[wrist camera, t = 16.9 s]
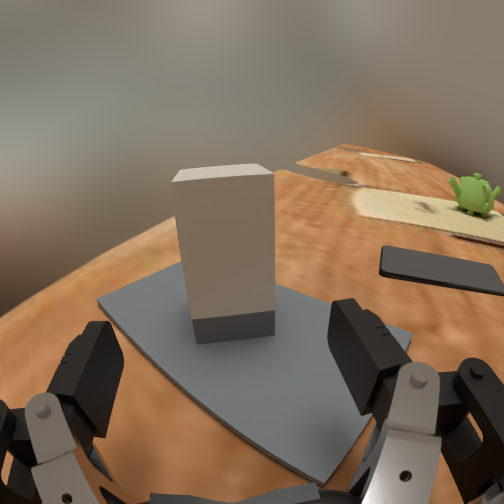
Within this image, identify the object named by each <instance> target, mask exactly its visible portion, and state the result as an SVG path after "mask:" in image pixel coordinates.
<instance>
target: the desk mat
mask: <svg viewBox="0 0 504 504" xmlns="http://www.w3.org/2000/svg"><path fill="white" fill-rule="evenodd" d="M97 302H98V305H99V306H100V307H101V308H102V310H103V311H104V312H105V313H106V314H107V316H108V317H109V318H110V319H111V320H112V321H113V322H114V324H115V325H116V326H117V327H118V328H119V329H120V330H121V331H122V332H123V333H124V335H125V336H126V337H127V338H128V339H129V340H130V341H131V342H132V343H133V344H134V345H135V346H136V347H137V348H138V349H139V350H140V351H141V352H142V353H143V354H144V355H145V356H146V357H147V358H148V359H149V360H150V361H151V362H152V363H153V364H154V365H155V366H156V367H157V368H158V369H159V370H160V371H161V372H162V373H163V374H164V375H165V376H166V377H167V378H168V379H170V380H171V381H172V382H173V383H174V384H175V385H176V386H177V387H178V388H180V389H181V390H182V391H183V392H184V393H185V394H186V395H188V396H189V397H190V398H191V399H192V400H193V401H195V402H196V403H197V404H198V405H199V406H201V407H202V408H203V409H204V410H205V411H207V412H208V413H209V414H210V415H212V416H213V417H214V418H216V419H217V420H218V421H219V422H221V423H222V424H223V425H225V426H226V427H227V428H229V429H230V430H231V431H233V432H234V433H235V434H237V435H238V436H240V437H241V438H242V439H244V440H245V441H247V442H248V443H250V444H251V445H252V446H254V447H255V448H257V449H258V450H260V451H261V452H263V453H264V454H266V455H267V456H269V457H271V458H272V459H274V460H275V461H277V462H279V463H280V464H282V465H283V466H285V467H287V468H288V469H290V470H292V471H294V472H295V473H297V474H299V475H301V476H302V477H304V478H306V479H308V480H310V481H311V482H316V484H317V485H319V486H321V487H322V486H323V485H324V484H325V483H326V481H327V480H328V479H329V478H330V476H331V475H332V474H333V472H334V471H335V470H336V469H337V467H338V466H339V465H340V463H341V462H342V460H343V459H344V458H345V456H346V455H347V453H348V452H349V451H350V449H351V448H352V446H353V445H354V443H355V442H356V440H357V439H358V437H359V436H360V434H361V433H362V431H363V430H364V428H365V426H366V425H367V423H368V422H369V420H370V418H371V417H372V415H373V414H372V413H371V414H367V415H364V416H361V415H360V413H359V411H358V408H357V406H356V404H355V402H354V400H353V398H352V396H351V393H350V391H349V389H348V387H347V385H346V383H345V381H344V379H343V377H342V374H341V372H340V370H339V368H338V366H337V364H336V362H335V360H334V358H333V356H332V354H331V352H330V349H329V346H328V341H327V332H328V325H329V318H330V310H331V304H330V303H327V302H324V301H322V300H319V299H316V298H313V297H311V296H308V295H305V294H303V293H300V292H297V291H295V290H292V289H289V288H287V287H284V286H281V285H279V284H276V283H275V335H273V336H266V337H259V338H251V339H243V340H234V341H225V342H216V343H205V344H196V339H195V334H194V329H193V324H192V319H191V314H190V308H189V303H188V297H187V292H186V286H185V280H184V274H183V268H182V261H181V262H179V263H176V264H174V265H172V266H169V267H167V268H165V269H163V270H160V271H158V272H156V273H153V274H151V275H149V276H147V277H144V278H142V279H140V280H138V281H135V282H133V283H131V284H129V285H126V286H124V287H122V288H120V289H117V290H115V291H113V292H111V293H109V294H106V295H104V296H102V297H100V298H98V299H97ZM384 324H385V323H384ZM385 327H387V328H388V329H389V331H390V332H391V335H393V336H394V337H395V339H396V340H397V341H398V343H399V344H400V345H401V347H402V348H403V349H404V351H405V352H406V349H407V347H408V345H409V343H410V340H411V338H412V335H413V333H411V332H408V331H405V330H403V329H400V328H397V327H394V326H391V325H388V324H385Z"/></svg>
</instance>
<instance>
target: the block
mask: <svg viewBox="0 0 504 504" xmlns="http://www.w3.org/2000/svg"><path fill="white" fill-rule="evenodd" d="M171 184H172V193H173V202H174V210H175V219H176V226H177V234H178V241H179V248H180V255H181V261H182V268H183V274H184V280H185V286H186V292H187V297H188V303H189V308H190V314H191V319H192V324H193V329H194V334H195V339H196V344H205V343H216V342H225V341H234V340H243V339H251V338H259V337H266V336H273V335H275V202H274V174H273V173H272V172H270V171H268V170H267V169H265V168H263V167H262V166H260V165H258V164H241V165H227V166H214V167H203V168H194V169H183V170H180V171H179V172H178V174H177V175H176V176H175V178H174V179H173V181H172V182H171Z"/></svg>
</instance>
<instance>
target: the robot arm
mask: <svg viewBox="0 0 504 504" xmlns="http://www.w3.org/2000/svg"><path fill="white" fill-rule="evenodd" d="M327 341H328V346H329V349H330V352H331V354H332V356H333V358H334V360H335V362H336V364H337V366H338V368H339V370H340V372H341V374H342V377H343V379H344V381H345V383H346V385H347V387H348V389H349V391H350V393H351V396H352V398H353V400H354V402H355V404H356V406H357V408H358V411H359V413H360V415H361V416H364V415H367V414H371V413H372V414H373V416H374V418H375V420H376V422H375V424H374V427H373V430H372V433H371V436H370V439H369V442H368V444H367V447H366V450H365V452H364V455H363V458H362V460H361V463H360V465H359V467H358V469H357V471H356V473H355V475H354V477H353V479H352V481H351V482H350V484H349V487H348V489H347V491H346V493H345V492H342V491H336V490H327V489H318V488H317V485H316V482H313V483H309V484H304V485H299V486H294V487H288V488H283V489H276V490H273V491H270V492H267V493H265V494H262V495H259V496H256V497H253V498H250V499H247V500H243V501H240V502H236V503H226V502H220V501H214V500H209V499H204V498H199V497H195V496H190V495H169V494H156V493H150V501H147V502H143V503H138V504H428V503H429V500H430V496H431V492H432V488H433V484H434V480H435V476H436V471H437V466H438V461H439V455H440V450H441V452H442V454H443V456H444V459H445V461H446V463H447V465H448V467H449V469H450V472H451V474H452V476H453V478H454V481H455V483H456V485H457V487H458V490H459V492H460V495H461V497H462V499H463V502H464V504H504V385H503V383H502V382H501V381H500V379H499V378H498V377H497V375H496V374H495V373H494V371H493V370H492V369H491V368H490V366H489V365H488V364H487V363H486V362H484V361H483V360H481V359H478V358H467V359H465V360H463V361H462V363H461V364H460V366H459V368H458V370H457V371H452V372H440V373H437V372H436V370H435V369H434V368H432V367H431V366H429V365H428V364H425V363H421V362H412V360H411V359H410V358H409V356H408V355H407V353H406V352H405V351H404V349H403V348H402V347H401V345H400V344H399V343H398V341H397V340H396V339H395V337H394V336H393V335H391V332H390V331H389V329H388V328H387V327H385V324H384V323H383V322H382V320H381V319H380V318H379V316H377V315H376V314H374V313H372V312H371V311H369V310H368V309H366V310H362V308H361V307H360V306H359V304H358V303H357V302H356V300H355V299H353V298H350V299H343V300H337V301H333V302H332V304H331V310H330V318H329V325H328V332H327ZM123 368H124V357H123V353H122V350H121V348H120V345H119V343H118V340H117V338H116V335H115V333H114V330H113V328H112V325H111V323H110V322H109V321H90V322H89V323H88V324H87V326H86V328H85V329H84V331H83V333H82V335H78V336H77V337H76V338H75V339H74V340H73V341H72V342H71V343H70V344H69V346H68V348H67V350H66V352H65V355H64V356H63V358H62V360H61V364H59V366H58V368H57V370H56V372H55V374H54V376H53V378H52V380H51V382H50V384H49V387H48V389H47V391H46V393H40V394H37V395H35V396H34V397H33V398H31V399H30V401H29V402H28V403H27V405H26V408H18V409H9V407H8V406H7V405H6V404H5V402H4V401H2V400H0V504H42V502H43V504H135V503H134V502H133V501H132V499H131V498H130V497H129V496H128V495H127V494H126V493H125V492H124V491H123V489H122V488H121V487H120V486H119V484H118V483H117V481H116V480H115V478H114V476H113V475H112V473H111V471H110V470H109V468H108V466H107V465H106V463H105V461H104V459H103V458H102V456H101V454H100V452H99V450H98V448H97V447H96V445H95V444H94V443H93V438H94V437H100V438H106V434H107V429H108V425H109V421H110V416H111V412H112V408H113V404H114V400H115V397H116V393H117V389H118V386H119V382H120V378H121V375H122V371H123ZM469 413H471V415H472V416H473V418H474V420H475V421H476V423H477V425H478V426H479V428H480V430H481V432H482V434H483V442H482V441H481V439H480V438H479V436H478V434H477V432H476V431H475V429H474V427H473V425H472V424H471V422H470V420H469V419H468V417H467V416H468V414H469ZM7 451H8V452H9V453H10V454H11V455H12V456H13V457H14V458H13V462H12V466H11V470H10V474H9V478H8V483H7V486H6V485H5V484H4V483H3V481H2V478H1V470H2V467H3V463H4V459H5V456H6V452H7Z"/></svg>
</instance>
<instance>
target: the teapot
mask: <svg viewBox="0 0 504 504" xmlns="http://www.w3.org/2000/svg"><path fill="white" fill-rule="evenodd" d="M460 182H461V183H460V185H459V186H458V184H457V182H456V180H455V178H454V177H452V178H450V179H449V183H450V185H451V186H452V188H453V190H454V192H455V194H456V195H455V199H456V201H457V203H458V205H460V207H459V209H462V210H465V209H468V210H467V213H466V214H468V215H473V213H474V211H475V212H479V213H481V216H482V217H486V218H487V215H486V213H489V212H490V211H491V210H492V209H493V208H494V200H495V199H496V197H497V196H498V195H499V194H500V193H501V191H502V190H501V188H500V187H499V186H497V187H496V188H495V190H494V191H493V192H492V190H491V187H490V185H489V183H488V182H487V181H484V180H481V175H480V174H477V173H474V178H473V177H461V178H460Z"/></svg>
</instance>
